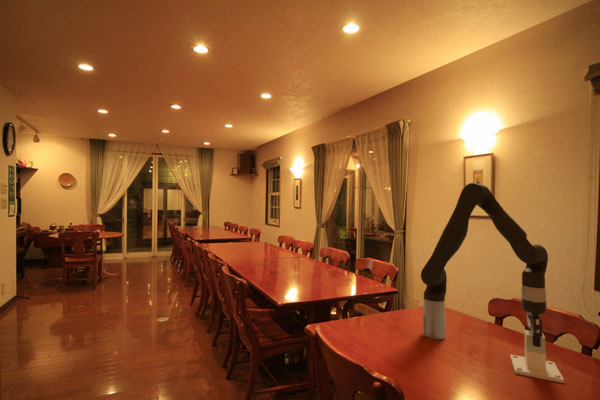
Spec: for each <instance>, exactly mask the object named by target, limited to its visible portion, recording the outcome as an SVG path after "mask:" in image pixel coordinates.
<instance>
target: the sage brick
mask: <svg viewBox="0 0 600 400" xmlns="http://www.w3.org/2000/svg"><path fill="white" fill-rule="evenodd" d="M523 332H524V333H523V335H524V339H523V340H524V345H525V348H526V351H528V352H534V353H540V354H545V355H546V356H547V354H546V336H545V335H544V333H543V332H542V335H543V336H542V337H540V338H541V347H535V346H533V335H532V331H529V329H524V331H523ZM535 332H536V333H539V331H537V330H536V331H535Z"/></svg>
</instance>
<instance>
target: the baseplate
mask: <svg viewBox="0 0 600 400" xmlns="http://www.w3.org/2000/svg"><path fill="white" fill-rule="evenodd" d="M509 356H510V357H509V358H510V361H511V364H512V367H513V372H514V374H517V375H521V376H525V377H526V376H527V377H532V378H536V379H542V380H547V381H552V382H557V383H562V384H565V379H564V377H563V375H562V374H561V372H560V370H559V368H558V367H557V365H556V363H555V361H551V360H546V371H543V370H537V369H532V368H527V366H526V363H525V356H523V355H522V356H521V355H516V354H510V355H509Z"/></svg>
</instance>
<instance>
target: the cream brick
mask: <svg viewBox="0 0 600 400" xmlns="http://www.w3.org/2000/svg"><path fill="white" fill-rule="evenodd" d="M524 357H525V363H526V366H527V368H532V369H537V370H543V371H546V361H547V354H546V355H545V354H540V353H534V352H528V351H526V348H525V344H524Z"/></svg>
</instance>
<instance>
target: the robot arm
mask: <svg viewBox="0 0 600 400" xmlns="http://www.w3.org/2000/svg"><path fill="white" fill-rule="evenodd" d="M476 207H479V209H482V210H483V211H484V213H486V214H487V216H488V217H489V218H490V220H491V222H492V223H493V225H494V228H495V229H496V230H497V231H498V232H499V234H500V235H501V236H502V237H503V238H504V239H505V240H506V241H507V243H508V244H509V245H510V247H511V249H512V250H513V252H514V254H515V255H516V257H517V258H518V259H519V260H520V261H521V262H523V263H524V264H526V265H525V269H523V271H522V272H521V297H520V298H521V310H523V311H524V312H526V323H527V327H528V330H529V331H532V335H533V346H535V347H541V338H540V337H542V336H543V335H544V334H543V335H542V333H543V320H542V317H541V316H540V315H542V314H546V313H547V292H546V291H547V290H546V276H545V275H546V272H547V268H548V264H549V263H548V261H549V255H548V251H547V250H546V248H545V247H544V246H542V245H540V244H532V243H531V242H530V241H529V239H528V234H527V233H526V231H525V230H524V229H523V228H522V227H521V226H520V225H519V224H518V222H516V221H515V220H514V218H512V217H511V216H510V215H509V214H508V212H507V211H506V210H505V209H504V208H503V207H502V206H501V205H500V202H498V200H497V199H496V197H495V196H494V195H493V193H492V191H491V190H490V188H488V187H487V186H486V185H484V184H481V183H477V182H470V183H467V184H466V185H464V187H463V188H462V190H461V192H460V194H459V197H458V199H457V202H456V205H455V207H454V209H453V212H452V213H451V215H450V218H449V220H448V222H447V224H446V226H445V227H444V229H443V231H442V233H441V235H440V237H439V239H438V241H437V243H436V246H435V248H434V249H433V252H432V254H431V256H430V257H429V259H428V261H427V262H426V263H425V264H424V266H423V268H422V269H421V272H420V278H421V281H422V283H423V284H424V285H426V288H425V290H424V292H423V315H422V319H423V321H422V325H423V327H422V332H423V334H422V336H423V337H426V338H429V339H430V340H431V339H433V340H444V339H446V304H445V303H446V300H445V299H446V298H445V297H446V294H447V271H446V269H445V268H446V265H447V263H448V262H449V261H450V260H451V259H452V257H454V256H455V254H456V253H457V252H458V251H459V249H460V248H461V246H462V245H463V242H464V241H465V239H466V237H467V235H468V231H469V223H470V222H469V221H470V217H471V215H472V213H473V211H474V210H475V208H476ZM535 331H536V332H539V333H536V332H535Z"/></svg>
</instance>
